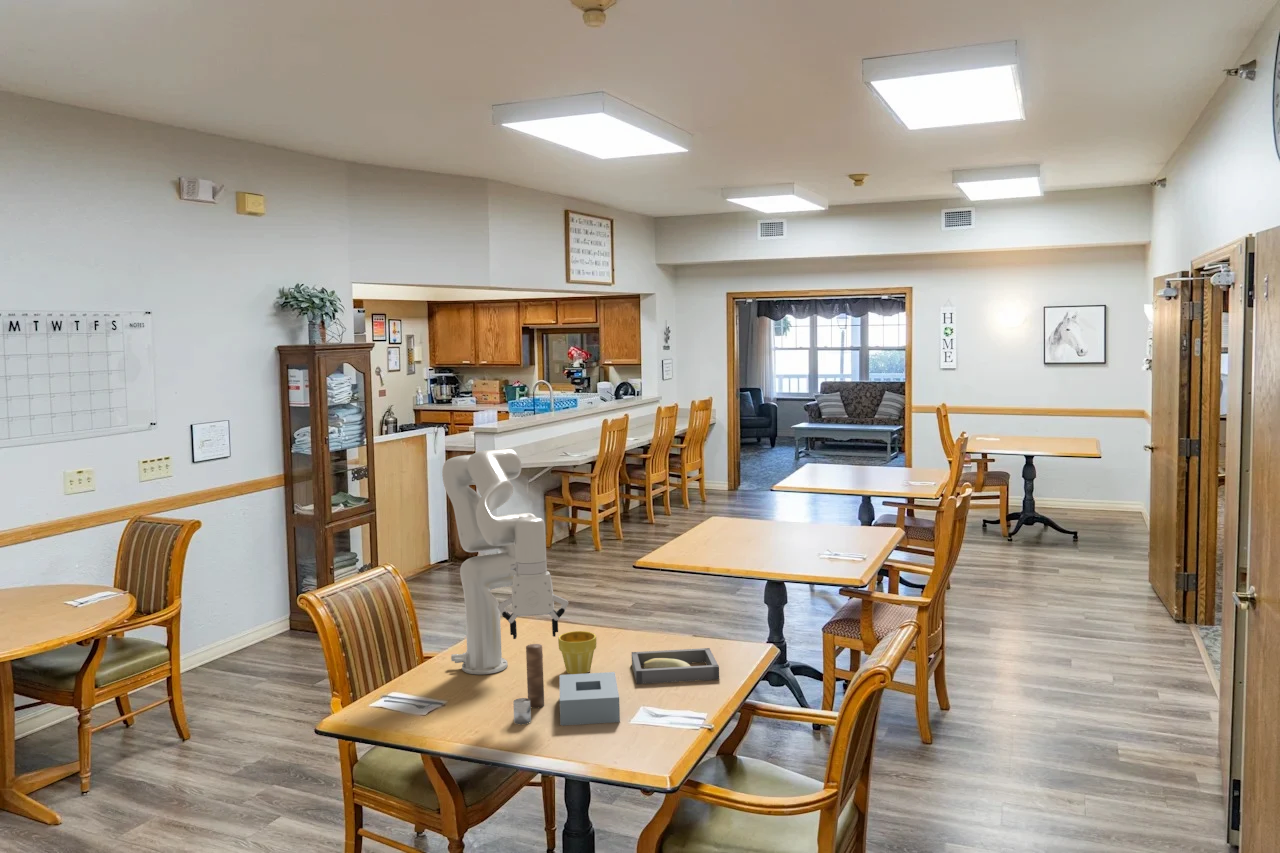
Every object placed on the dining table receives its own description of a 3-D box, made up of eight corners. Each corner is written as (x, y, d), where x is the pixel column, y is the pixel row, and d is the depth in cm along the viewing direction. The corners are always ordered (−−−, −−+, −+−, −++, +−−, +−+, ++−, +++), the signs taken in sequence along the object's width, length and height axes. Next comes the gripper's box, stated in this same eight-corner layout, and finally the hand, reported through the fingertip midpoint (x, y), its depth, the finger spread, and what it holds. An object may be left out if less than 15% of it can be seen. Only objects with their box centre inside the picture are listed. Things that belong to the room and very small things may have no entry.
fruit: (659, 664, 266) (658, 652, 266) (701, 675, 256) (701, 663, 256) (642, 671, 261) (642, 659, 261) (685, 683, 251) (685, 670, 251)
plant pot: (583, 679, 254) (582, 643, 253) (552, 674, 259) (550, 639, 259) (604, 668, 263) (603, 633, 262) (573, 662, 268) (572, 628, 268)
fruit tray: (636, 684, 250) (636, 671, 249) (631, 664, 265) (631, 652, 265) (719, 679, 251) (719, 666, 251) (709, 660, 267) (709, 648, 267)
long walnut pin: (527, 708, 234) (525, 649, 233) (528, 702, 238) (526, 644, 237) (544, 707, 235) (542, 648, 233) (544, 701, 239) (542, 643, 237)
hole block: (560, 725, 223) (559, 700, 223) (560, 698, 241) (559, 674, 240) (619, 722, 224) (619, 697, 224) (615, 694, 242) (614, 671, 242)
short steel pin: (513, 725, 224) (513, 704, 224) (514, 718, 228) (513, 698, 228) (530, 724, 224) (530, 703, 224) (531, 717, 228) (530, 697, 228)
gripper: (495, 573, 229) (498, 642, 230) (566, 569, 231) (569, 638, 232) (497, 566, 237) (500, 634, 238) (566, 563, 238) (569, 630, 239)
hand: (534, 636), depth 235 cm, fingers open, 9 cm apart
